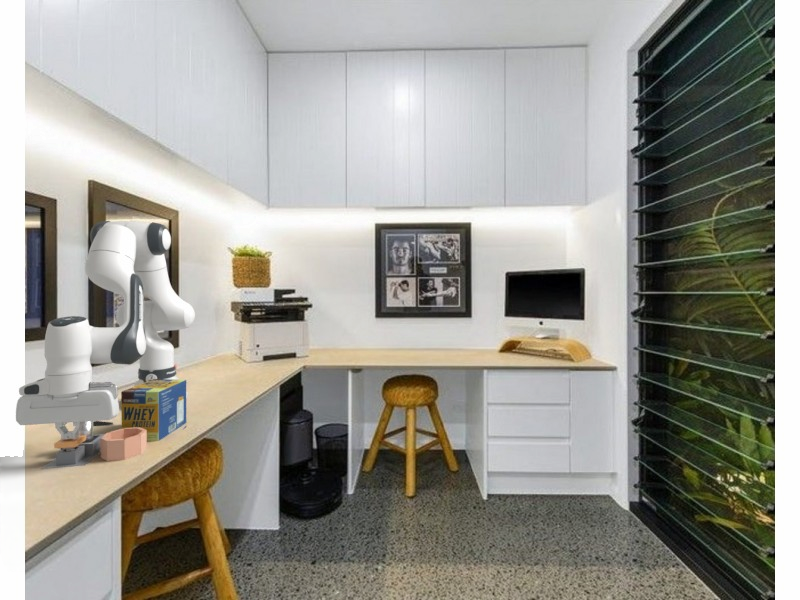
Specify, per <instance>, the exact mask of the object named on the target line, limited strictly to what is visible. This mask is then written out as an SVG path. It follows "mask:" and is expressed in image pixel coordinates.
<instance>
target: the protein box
mask: <svg viewBox="0 0 800 600" xmlns="http://www.w3.org/2000/svg"><path fill="white" fill-rule="evenodd" d="M186 392H187V379H179V380H176V379H152V380H150V381H148V382H145V383H142V384H140V385H137V386H135V387H134V386H133V387H130V388H128V389H125V390H122V391H121V392H120V393H121V395H120V396H121V398H120V399H121V403H120V404H121V406H120V407H121V411H120V412H121V429H122V428H134V427H140V428H143V429H146V430H147V442H159V441H161V440H162V439H164V438H166V437H167V436H168V435H171V433H173V432H175V431H176V430H177V429H179V428H180V427H182V426H183V425H185V424H186V423H187V399H186ZM186 428H187V425H185V426H184V427H183V429H182V430H184V429H186Z"/></svg>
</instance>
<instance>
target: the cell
mask: <svg viewBox="0 0 800 600" xmlns="http://www.w3.org/2000/svg"><path fill="white" fill-rule="evenodd" d="M93 422H94V421H84V424H83V426H82V427H81V429H80V430H79V436H83V435H86V440H85V441H84V442H82V443H89V442H92V441H93V434H94V426H93Z"/></svg>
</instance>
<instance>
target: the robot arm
mask: <svg viewBox="0 0 800 600" xmlns="http://www.w3.org/2000/svg"><path fill="white" fill-rule="evenodd" d="M89 239H90V243H91V245H90V247H89V251H88V253H87V258H86V260H85V267H84V268H85V269H84V270H85V273H86V275H87V277H88V279H89V280H90V281H91V282H92V283H93V284H94V285H96V286H98V287H100V288H101V289H103V290H106V291H109V292H111V293H115V294H117V295H120V296H121V297H123V304H121V305H120V306H119V307H118V308H117V310H116V314H115V320H116V322H117V324H118V327H116V326H115V327H113V326H111V327H110V326H109V327H108V326H107V327H98V326H93V325H90V322H89V319H88V318H87V317H84V316H81V315H80V316H79V315H78V316H76V315H72V316H64V317H58V318H55V319H53V320H51V321H48V324H47V328H46V331H45V337H44V358H45V361H46V369H45V372H44V377H43V378H41V379H38V380H36V381H33V382H32V381H31V382H30V383H27V384H25V385H23V386H20V387H19V388H18V393H19V395H20V397H18V400H17V402H16V407H15V422H17V424H18V425H20V426H30V425H47V424H49V425H51V424H54V428H55V429H56V430H57V432H58V433H59V434H60V440H62V441H64V440H76V439H78V438H79V430H80V429H81V427H82V426H83V424H84V421H93V422H94V421H110V420H113V419H115V418H116V417H117V415H118V414H119V413H120V404H119V398H118V396H119V387H118V385H116V384H115V383H112V382H111V381H104V382H93V367H92V364H97V365H99V364H103V365H104V364H115V365H116V364H117V365H129V366H130V365H133V364H134V363H136V362H137V361H139V368H138V371H137V378H138V381H137V382H135V383H134V385H133V387H135V386H137V385H140V384H142V383H145V382H148V381H150V380H152V379H176V380H180V378H179V377H178V376H177V367H178V365H177V364H175V347H174V345H173V344H172V343H171V342H170V341H168V340H166V339H164V338H162V337H161V336H160V335H159V333H158V331H179V330H184V329H189V328H190V327H191V326H192V325H193V324H194V322H195V318H196V312H195V309H194V307H193V306H192V305H191V304H190V303H189V302H187V301H185V300H184V299H182V298H181V297H180V296H179V295H178V294H177V293H176V291H175V290H174V289H173V287H172V285H171V282H170V277H169V273H168V266H167V262H166V257H165V254H166V253H167V252H168V251H169V250H170V248H171V245H172V237H171V233H170V230H169V229H168V228H167V227H166V225H164V224H162V223H158V222H147V221H139V220H138V221H136V220H129V221H126V220H122V221H121V220H119V221H110V220H105V221H99V222H96V223H95V224H94V225H93V226H92V227H91V229H90V233H89ZM145 297H147V298H148V299H149V301H148V300H147V301H146V300H145ZM188 395H189V392H188V391H186V400H187V399H188ZM68 423H72V427H74V428H73V430H68V428H67V426H66V425H67V424H68Z"/></svg>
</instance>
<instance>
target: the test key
mask: <svg viewBox="0 0 800 600" xmlns="http://www.w3.org/2000/svg"><path fill="white" fill-rule="evenodd" d="M85 440H86V435H83V436H79V438H78V439H76V440H64V441H62V440H61V439H60V440H58V441H56V442H54V443H53V445H54V447H53V449H61V448H66V451H74V450H75V447H76V446H78V445H79V444H81V443H82V442H84V441H85Z"/></svg>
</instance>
